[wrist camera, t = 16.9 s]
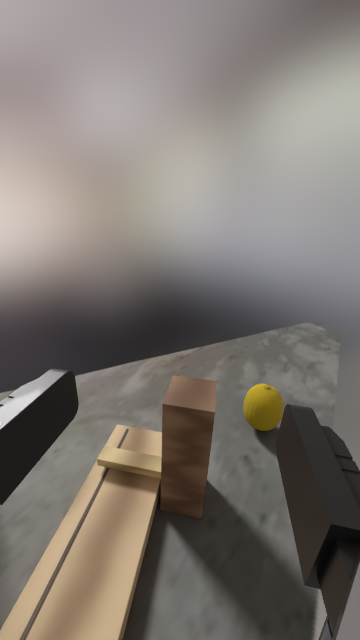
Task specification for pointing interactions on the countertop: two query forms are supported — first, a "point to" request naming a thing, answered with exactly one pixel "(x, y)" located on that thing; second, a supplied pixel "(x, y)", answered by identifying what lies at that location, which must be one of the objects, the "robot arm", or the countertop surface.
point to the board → (93, 554)
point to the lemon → (263, 407)
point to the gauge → (177, 447)
